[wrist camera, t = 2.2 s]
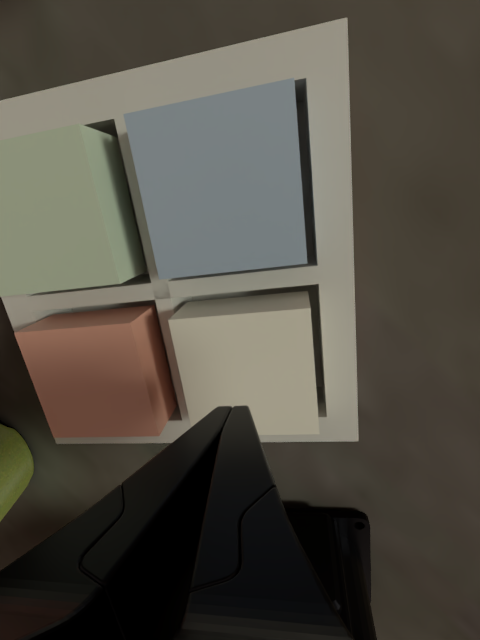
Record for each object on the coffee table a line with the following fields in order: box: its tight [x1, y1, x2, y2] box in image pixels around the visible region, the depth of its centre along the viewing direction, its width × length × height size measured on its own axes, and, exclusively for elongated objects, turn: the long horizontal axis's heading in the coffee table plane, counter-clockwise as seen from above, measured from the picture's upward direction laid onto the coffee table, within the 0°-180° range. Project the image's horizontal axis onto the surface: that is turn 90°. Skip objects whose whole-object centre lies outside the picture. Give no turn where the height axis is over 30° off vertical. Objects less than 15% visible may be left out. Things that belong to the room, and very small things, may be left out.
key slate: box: [123, 78, 307, 280], centre depth 10 cm, size 4×4×2 cm
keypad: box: [0, 18, 359, 444], centre depth 13 cm, size 13×13×3 cm
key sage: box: [0, 124, 147, 297], centre depth 11 cm, size 4×4×2 cm
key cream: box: [168, 291, 320, 435], centre depth 12 cm, size 4×4×2 cm
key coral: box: [14, 305, 177, 438], centre depth 13 cm, size 4×4×2 cm
